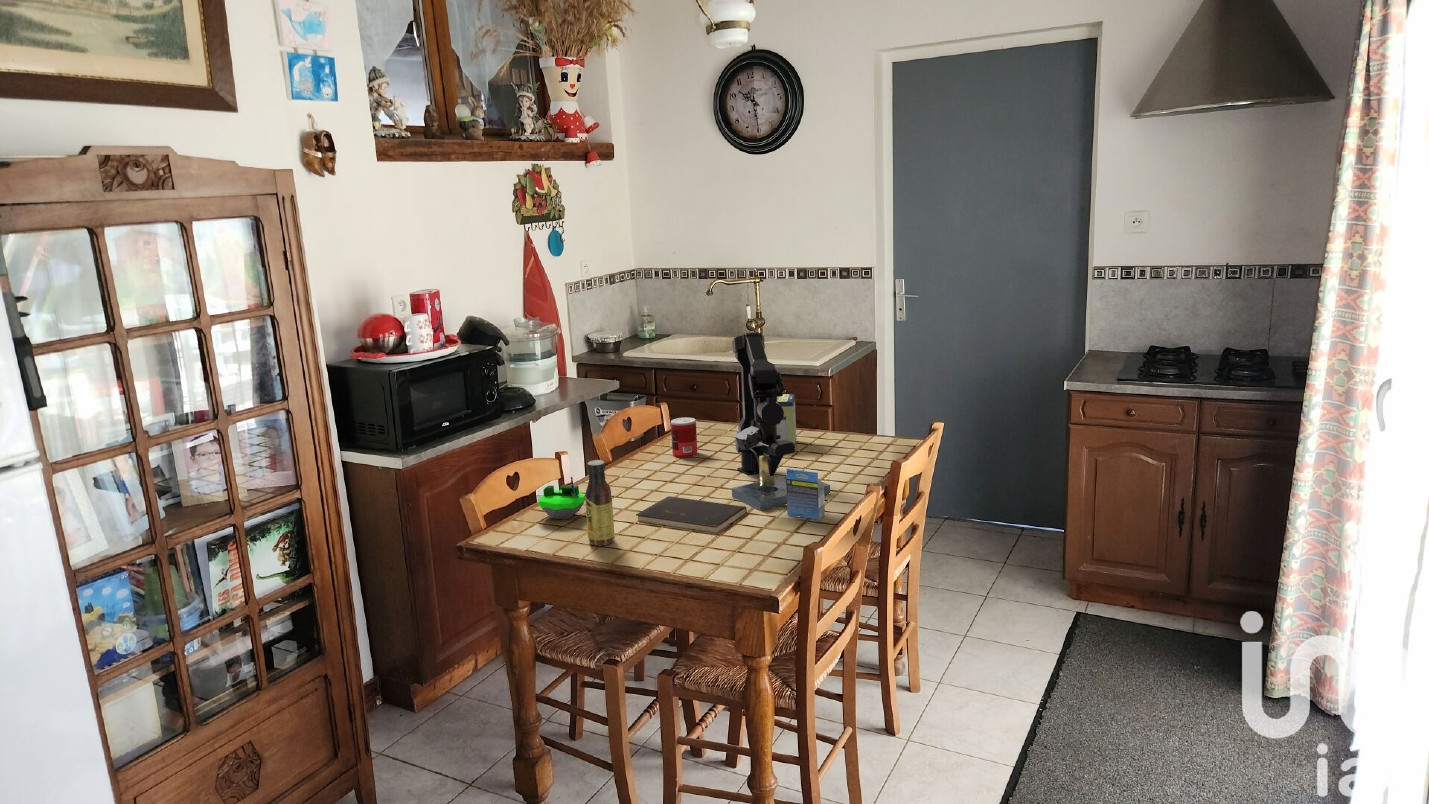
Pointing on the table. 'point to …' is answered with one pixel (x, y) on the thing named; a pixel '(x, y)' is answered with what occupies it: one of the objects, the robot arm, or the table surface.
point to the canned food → (684, 437)
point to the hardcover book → (691, 513)
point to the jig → (767, 493)
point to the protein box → (787, 418)
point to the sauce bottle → (599, 505)
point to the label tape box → (804, 494)
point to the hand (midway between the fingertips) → (767, 473)
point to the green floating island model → (561, 501)
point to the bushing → (765, 472)
